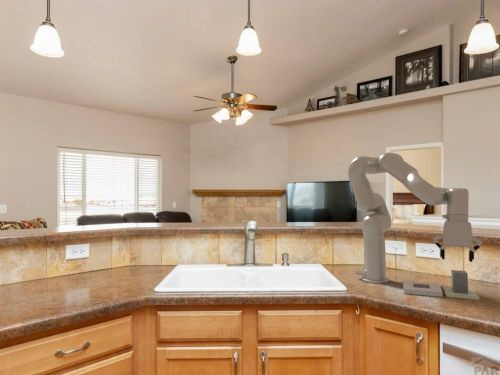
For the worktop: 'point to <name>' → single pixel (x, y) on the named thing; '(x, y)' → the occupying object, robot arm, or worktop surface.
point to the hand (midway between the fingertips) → (456, 260)
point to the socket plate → (422, 288)
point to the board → (461, 294)
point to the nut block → (459, 281)
